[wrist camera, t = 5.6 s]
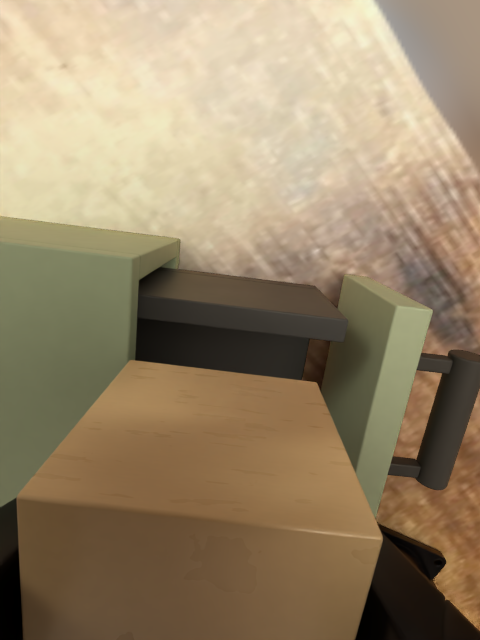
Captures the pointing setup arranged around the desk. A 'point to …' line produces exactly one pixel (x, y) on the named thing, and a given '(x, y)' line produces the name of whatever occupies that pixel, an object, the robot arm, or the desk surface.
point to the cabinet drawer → (342, 362)
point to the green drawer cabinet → (63, 330)
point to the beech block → (197, 515)
